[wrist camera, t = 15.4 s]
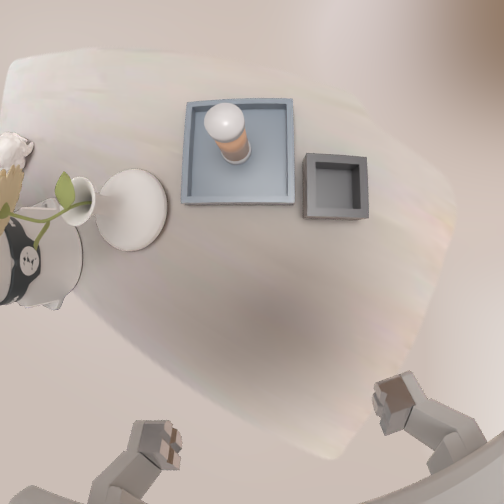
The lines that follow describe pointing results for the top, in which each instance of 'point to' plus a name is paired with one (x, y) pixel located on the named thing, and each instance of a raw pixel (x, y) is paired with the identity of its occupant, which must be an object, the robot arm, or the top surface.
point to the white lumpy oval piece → (13, 150)
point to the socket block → (335, 187)
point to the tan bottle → (228, 132)
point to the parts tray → (249, 173)
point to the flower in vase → (98, 206)
